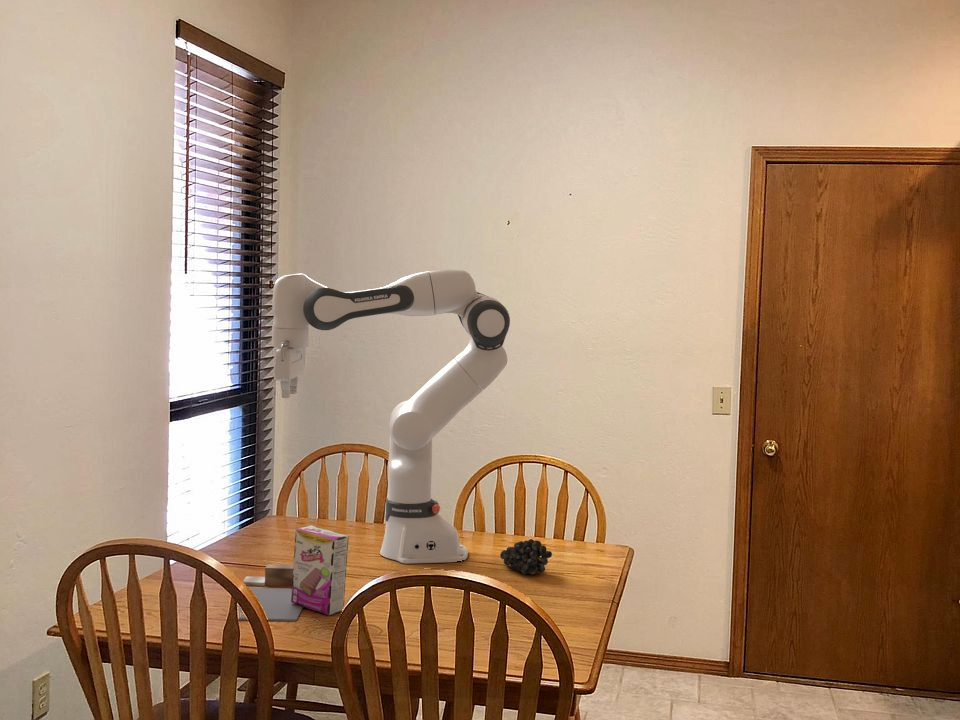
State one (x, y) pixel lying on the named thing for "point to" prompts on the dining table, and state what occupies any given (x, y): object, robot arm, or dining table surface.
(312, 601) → the candy bar box
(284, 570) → the block
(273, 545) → the dining table surface
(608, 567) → the dining table surface
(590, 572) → the dining table surface
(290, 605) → the mat
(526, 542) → the fruit
